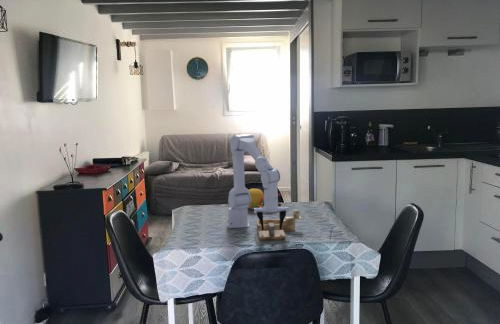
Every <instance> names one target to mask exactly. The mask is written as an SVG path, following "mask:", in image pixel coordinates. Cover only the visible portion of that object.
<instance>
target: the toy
mask: <svg viewBox="0 0 500 324" xmlns="http://www.w3.org/2000/svg"><path fill="white" fill-rule="evenodd" d="M248 190H249V191H250V196H251V203H250V205H249V207H248V209H250V210H253V211H254V208H260V207H264V191H263V190H262V189H260V188H250V189H248ZM280 196H282V194H281V193H280V192H279V193H278V197H280ZM278 207H282V204H281V203H279V202H278Z"/></svg>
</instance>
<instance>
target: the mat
mask: <svg viewBox="0 0 500 324" xmlns="http://www.w3.org/2000/svg"><path fill="white" fill-rule="evenodd" d="M284 233H285V236H286V238H283V240H262V239H259V234H258V233H256V234H255V233H254V238H255V244H258V245H260V244H261V245H262V244H263V243H264V244H284V243H285V244H286V243H290V242H291V241H290V238H289V236H288V233H286V232H284Z"/></svg>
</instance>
